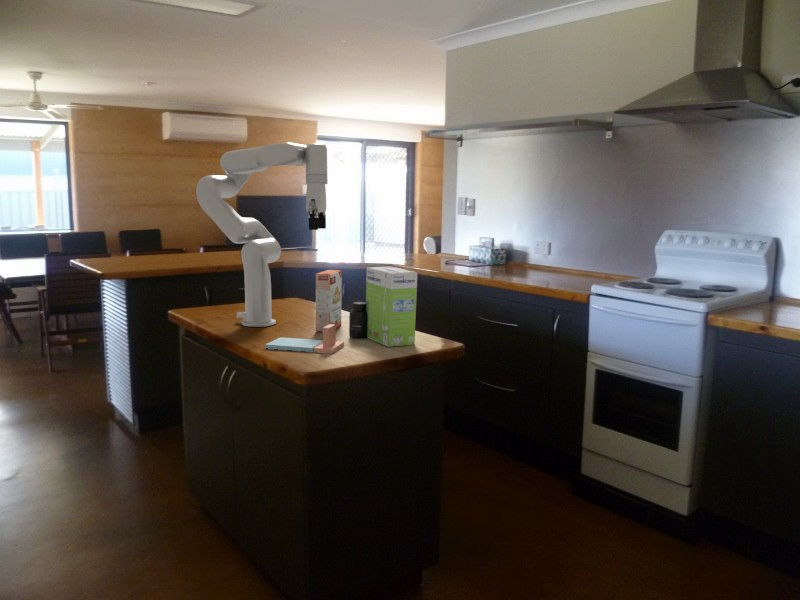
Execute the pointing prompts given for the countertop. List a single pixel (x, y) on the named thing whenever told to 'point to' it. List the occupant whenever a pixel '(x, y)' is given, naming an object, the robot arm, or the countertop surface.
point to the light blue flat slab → (294, 344)
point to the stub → (329, 341)
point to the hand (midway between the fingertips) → (317, 229)
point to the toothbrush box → (391, 305)
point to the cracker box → (328, 298)
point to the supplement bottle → (358, 321)
